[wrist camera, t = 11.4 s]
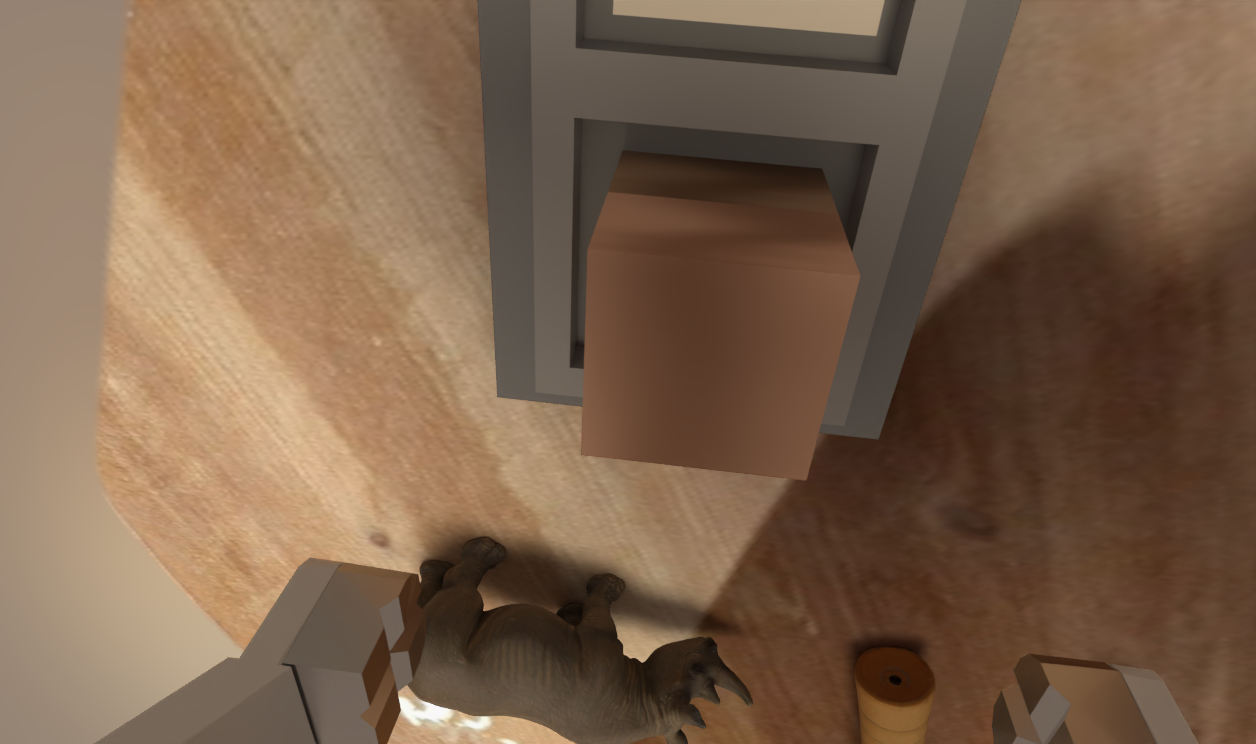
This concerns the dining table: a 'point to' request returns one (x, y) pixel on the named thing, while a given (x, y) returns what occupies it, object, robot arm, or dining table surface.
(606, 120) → the base plate
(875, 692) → the kendama
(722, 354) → the brown block
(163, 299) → the dining table surface
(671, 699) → the rhino figurine
